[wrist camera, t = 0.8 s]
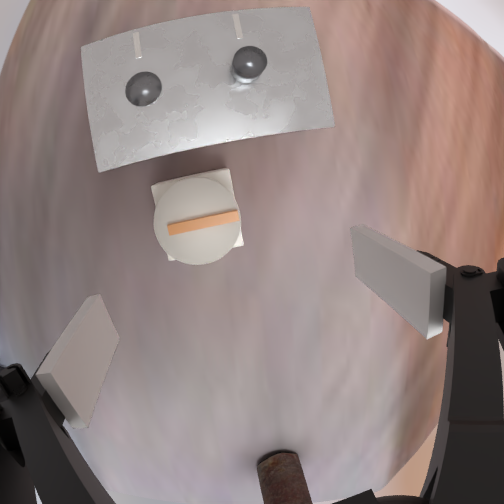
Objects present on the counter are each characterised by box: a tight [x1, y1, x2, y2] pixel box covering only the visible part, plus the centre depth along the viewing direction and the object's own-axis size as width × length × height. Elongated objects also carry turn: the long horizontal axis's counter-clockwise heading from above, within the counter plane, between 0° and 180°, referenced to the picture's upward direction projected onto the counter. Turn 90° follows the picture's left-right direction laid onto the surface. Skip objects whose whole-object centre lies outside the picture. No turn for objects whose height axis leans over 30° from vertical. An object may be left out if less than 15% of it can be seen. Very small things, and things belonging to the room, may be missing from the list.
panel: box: [81, 7, 335, 173], centre depth 26 cm, size 24×14×4 cm, turn 100°
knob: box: [151, 168, 244, 265], centre depth 28 cm, size 7×7×8 cm
